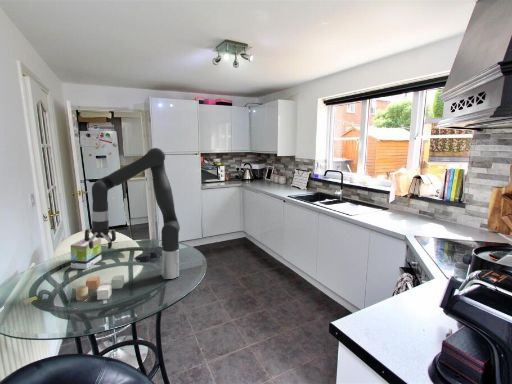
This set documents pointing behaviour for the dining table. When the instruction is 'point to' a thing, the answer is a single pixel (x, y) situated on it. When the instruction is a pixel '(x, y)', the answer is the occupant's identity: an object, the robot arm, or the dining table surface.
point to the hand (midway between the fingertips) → (100, 248)
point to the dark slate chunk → (150, 255)
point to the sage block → (117, 281)
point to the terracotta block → (93, 282)
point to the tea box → (85, 253)
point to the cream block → (104, 292)
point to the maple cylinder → (81, 293)
